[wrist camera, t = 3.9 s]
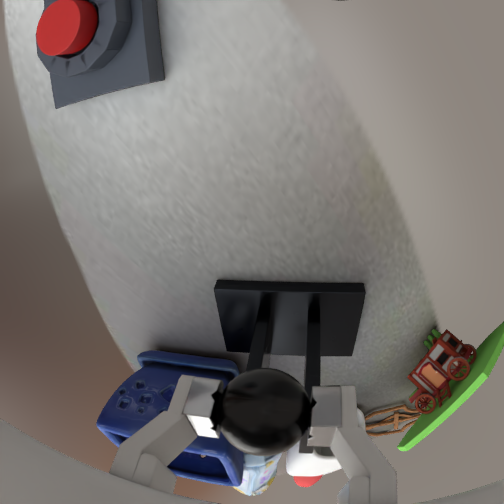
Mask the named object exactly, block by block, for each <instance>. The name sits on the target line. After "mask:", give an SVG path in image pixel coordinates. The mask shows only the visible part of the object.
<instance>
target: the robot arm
mask: <svg viewBox="0 0 504 504" xmlns="http://www.w3.org/2000/svg"><path fill="white" fill-rule="evenodd" d="M223 387H224V383H223V380H218V379H210V378H202V377H196V376H188V375H182V376H181V377H180V378H179V380H178V383H177V386H176V389H175V392H174V394H173V397H172V400H171V403H170V406H169V408H168V411H163V412H162V413H160V414H159V415H158V416H157V417H155V418H154V419H153V420H152V421H150V422H149V423H148V424H146V425H145V426H144V427H142V428H141V429H140V430H139V431H137V432H136V433H135V434H133V435H132V436H131V437H129V438H128V439H127V440H125V441H124V442H123V443H121V444H120V446H119V449H118V451H117V454H116V457H115V459H114V461H113V464H112V467H111V469H110V472H109V473H106V472H104V471H101V470H98V469H96V468H94V467H91V466H89V465H87V464H84V463H82V462H80V461H78V460H75V459H73V458H71V457H69V456H67V455H65V454H63V453H61V452H59V451H57V450H55V449H53V448H51V447H49V446H47V445H45V444H43V443H41V442H39V441H38V440H36V439H34V438H32V437H30V436H29V435H27V434H25V433H24V432H22V431H20V430H19V429H17V428H15V427H13V426H12V425H10V424H9V423H7V422H6V421H4V420H2V419H0V504H219V503H213V502H208V501H202V500H198V499H193V498H189V497H184V496H180V495H176V494H173V491H174V487H175V483H176V479H177V477H176V475H175V474H174V473H173V472H172V471H171V470H170V469H169V468H168V467H167V466H168V465H169V464H170V463H171V462H172V461H173V460H174V459H175V458H176V457H177V456H178V455H179V454H180V453H181V452H182V451H183V450H184V449H185V448H186V447H187V446H189V445H190V444H191V443H192V442H193V441H194V440H195V439H196V438H197V435H198V436H205V437H212V438H219V436H220V432H221V430H220V427H219V424H218V420H217V405H218V401H219V398H220V395H221V393H222V391H223V390H224V389H223ZM310 405H311V416H310V423H309V428H308V441H307V446H322V447H330V449H331V450H332V452H333V454H334V455H335V457H336V459H337V460H338V462H339V464H340V465H341V467H342V469H343V470H344V472H345V474H346V475H347V477H348V478H349V481H348V483H347V484H346V485H345V486H344V487H343V488H342V490H341V491H340V492H339V493H338V496H337V504H397V476H396V475H397V474H396V471H395V470H394V468H393V467H392V466H391V464H390V463H389V462H388V460H387V459H386V458H385V457H384V456H383V454H382V453H381V451H380V450H379V449H378V447H377V446H376V445H375V444H374V443H373V441H372V440H371V438H370V437H369V436H368V434H367V433H366V432H365V430H364V429H363V428H362V427H358V418H357V398H356V388H355V386H354V385H350V386H340V385H337V386H312V394H311V400H310ZM415 504H504V479H502V480H500V481H497V482H494V483H491V484H489V485H485V486H483V487H479V488H476V489H473V490H470V491H466V492H463V493H459V494H455V495H451V496H447V497H444V498H439V499H434V500H430V501H426V502H421V503H415Z"/></svg>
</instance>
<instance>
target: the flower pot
mask: <svg viewBox="0 0 504 504" xmlns="http://www.w3.org/2000/svg"><path fill="white" fill-rule="evenodd" d="M137 359H138V361H139V363H140V365H141V367H142V368H141V369H140V370H138V371H137V372H135V373H134V374H133V375H131V376H130V377H129V378H128V379H127V380H126V381H125V382H123V383H122V385H121V386H120V387H119V388H118V389H117V390H116V391H115V392H114V394H113V395H112V396H111V398H110V399H109V400H108V402H107V404H106V405H105V407H104V408H103V410H102V412H101V414H100V416H99V418H98V420H97V427H98V428H99V429H100V430H101V431H102V432H103V433H104V434H105V435H106V436H107V437H108V438H109V439H110V440H111V441H112V442H113V443H114V444H115V445H116V446H117V447H118V448H119V446H120V444H121V443H123V442H124V441H125V440H127V439H128V438H129V437H131V436H132V435H133V434H135V433H136V432H137V431H139V430H140V429H141V428H142V427H144V426H145V425H146V424H148V423H149V422H150V421H152V420H153V419H154V418H155V417H157V416H158V415H159V414H160V413H162V412H163V411H168V408H169V406H170V403H171V400H172V397H173V394H174V392H175V389H176V386H177V383H178V380H179V378H180V377H181V376H182V375H188V376H196V377H202V378H210V379H218V380H223V383H224V387H223V389H224V388H225V387H226V386H227V385H228V383H229V382H230V381H231V380H233V379H234V378H235V377H237V376H238V375H240V374H239V370H238V367H237V365H236V364H235V363H234V362H233V361H231V360H226V359H218V358H209V357H201V356H193V355H186V354H178V353H171V352H164V351H146V352H142V353H140V354H139V355H138V356H137ZM201 454H202V455H206V457H204V458H202V457H201ZM167 467H168V468H169V469H170V470H171V471H172V472H173V473H174V474H175V475H176V476H180V477H184V478H189V479H193V480H198V481H203V482H207V483H213V484H219V485H226V486H235V487H238V486H240V485H241V484H242V479H243V471H244V470H243V452H242V451H240V450H239V449H237V448H236V447H234V446H233V445H232V444H231V443H230V442H229V441H228V440H227V439H226V438H225V437H224V435H223V433H222V432H220V436H219V438H212V437H205V436H198V435H197V438H196V439H195V440H194V441H193V442H192V443H191V444H190V445H189V446H187V447H186V448H185V449H184V450H183V451H182V452H181V453H180V454H179V455H178V456H177V457H176V458H175V459H174V460H173V461H172V462H171V463H170V464H169V465H168V466H167Z"/></svg>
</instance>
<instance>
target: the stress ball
mask: <svg viewBox="0 0 504 504" xmlns="http://www.w3.org/2000/svg"><path fill="white" fill-rule="evenodd" d="M321 477H322V475H319V476H294V481H295V483H296V484H297V485H299V486H301V487H309V486H311V485H313V484H314V483H316V482H317V481H318V480H319V479H320V478H321Z"/></svg>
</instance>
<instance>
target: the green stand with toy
mask: <svg viewBox="0 0 504 504" xmlns="http://www.w3.org/2000/svg"><path fill="white" fill-rule="evenodd" d="M432 334H433V335H434V336H435V337H433V336H432V335H430V334H429V336H428V337H427V338H428V339H429V340H430V342H431V343H430V342H429V341H427V340H425V341H424V342H423V343H424V345H425V346H426V347H427V348H428V349H429V352H428V353H427V354H426V355H425V357H424V358H423V359H422V360H421V361H420V362H419V364H418V365H417V366H416V368H415V369H414V370H413V371H412V372H411V373H410V374H409V375H408V377H407V378H408V379H409V380H411V381H412V382H413V383H414V384H415V385H416V386H417V387H418V388H417V389H416V390H415V391H414V392H413V393H412V394H411V395H410V397H409V401H410V402H411V403H412V402H413V401H414V400H415V399H416V401H415V407H416V409H417V410H418V411H419V412H420V413H422V414H421V415H420V417H419V418H418V419H417V421H416V422H415V423H414V425H413V426H412V427H411V428H410V430H409V431H408V432H407V433H406V435H405V437H404V438H403V439H402V441H401V442H400V443H399V445H398V446H397V448H398V449H400V451H408V450H410V449H411V448H412V447H413V446H415V445H416V444H417V443H419V442H420V441H421V440H422V439H423V438H424V437H426V436H427V435H428V434H430V433H431V432H432V431H433V430H434V429H435V428H437V427H438V426H439V425H440V424H441V423H442V422H443V421H445V420H446V419H447V418H448V417H449V416H450V415H451V414H452V413H453V412H454V411H455V410H456V409H458V408H459V407H460V406H461V405H462V404H463V403H464V402H465V401H466V400H467V399H468V398H469V397H470V396H471V395H472V394H473V393H474V392H475V391H476V390H477V389H478V387H480V385H481V384H482V383H483V382H484V381H485V380H486V379H487V378H488V377H489V375H490V373H491V371H492V369H493V367H494V365H495V363H496V361H497V359H498V357H499V355H500V353H501V351H502V349H503V346H504V322H503V323H502V324H501V325H500V326H499V327H498V328H496V329H495V330H494V331H493V332H492V333H491V334H490V335H489V336H488V337H487V338H486V339H485V340H484V341H483V343H482V344H481V345H480V346H479V347H478V348H477V349H475V348H474V347H473V346H472V345H470V344H463V343H462V340H461V341H459V340H458V339H457V338H456V337H455V336H454V335H453V334H452V333H450V332H449V331H448V330H446V331H445V332H444V333H443V334H441V333H440V332H438V331H437V330H435V329H433V330H432ZM436 338H437V339H438V340H437V339H436ZM472 351H473V354H471V352H472ZM470 355H471V356H470ZM421 393H422V394H421ZM424 397H425V398H424ZM421 398H422V399H423V400H424V401H423V400H422V399H421ZM419 401H420V402H421V403H418V402H419ZM422 401H423V402H422ZM430 401H431V402H430ZM429 402H430V403H429ZM419 404H421V405H420V406H421V408H420V407H419ZM426 406H427V407H426ZM424 407H425V410H422V408H424Z"/></svg>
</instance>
